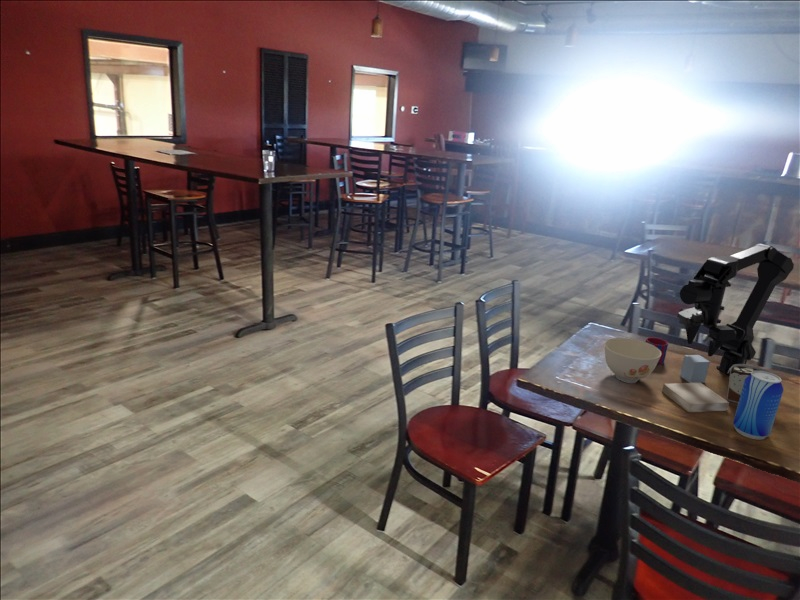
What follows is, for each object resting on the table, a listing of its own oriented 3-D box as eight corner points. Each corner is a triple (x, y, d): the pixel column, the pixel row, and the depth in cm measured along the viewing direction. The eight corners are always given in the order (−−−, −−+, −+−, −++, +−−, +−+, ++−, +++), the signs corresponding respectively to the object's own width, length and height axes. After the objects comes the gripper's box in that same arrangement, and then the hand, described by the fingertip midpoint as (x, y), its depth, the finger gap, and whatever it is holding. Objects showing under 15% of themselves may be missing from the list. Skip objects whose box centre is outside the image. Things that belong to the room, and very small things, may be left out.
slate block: (694, 375, 181) (699, 354, 179) (704, 382, 177) (710, 361, 174) (679, 375, 180) (684, 355, 178) (690, 383, 176) (695, 362, 174)
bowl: (599, 384, 171) (605, 353, 168) (598, 363, 186) (603, 334, 183) (657, 394, 167) (664, 363, 164) (652, 372, 182) (658, 342, 178)
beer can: (759, 444, 144) (777, 386, 139) (725, 429, 151) (740, 373, 145) (774, 435, 149) (792, 379, 144) (741, 420, 155) (756, 366, 150)
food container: (770, 402, 167) (779, 370, 163) (770, 411, 161) (779, 378, 158) (721, 390, 172) (729, 359, 169) (720, 398, 167) (729, 366, 164)
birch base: (698, 390, 171) (700, 382, 171) (727, 410, 160) (729, 402, 160) (662, 391, 169) (663, 383, 168) (688, 412, 158) (690, 404, 157)
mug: (638, 359, 190) (642, 340, 188) (649, 351, 198) (653, 333, 195) (659, 366, 186) (664, 347, 184) (670, 358, 193) (674, 339, 191)
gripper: (667, 291, 178) (657, 338, 183) (708, 312, 160) (695, 364, 165) (699, 291, 180) (688, 337, 185) (743, 311, 162) (730, 362, 167)
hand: (699, 349), depth 175 cm, fingers open, 9 cm apart
